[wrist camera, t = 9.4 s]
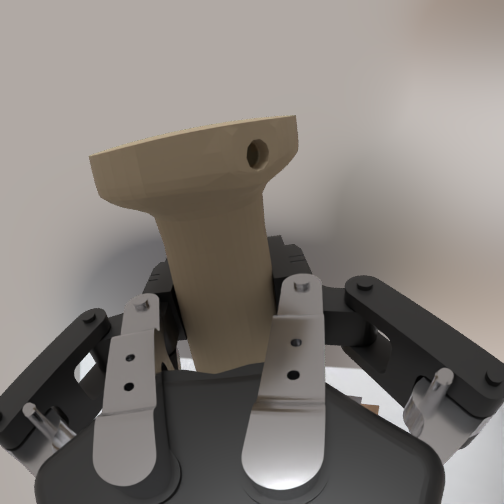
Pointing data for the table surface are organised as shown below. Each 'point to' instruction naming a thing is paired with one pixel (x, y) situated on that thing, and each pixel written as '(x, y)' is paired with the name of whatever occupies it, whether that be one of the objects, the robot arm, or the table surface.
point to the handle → (209, 225)
